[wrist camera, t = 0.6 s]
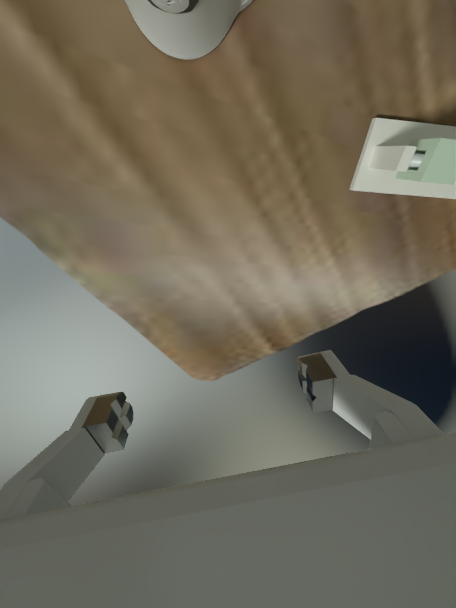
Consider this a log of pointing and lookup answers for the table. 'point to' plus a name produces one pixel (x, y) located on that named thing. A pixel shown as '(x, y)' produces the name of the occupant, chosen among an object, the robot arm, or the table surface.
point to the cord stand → (398, 158)
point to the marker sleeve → (433, 162)
